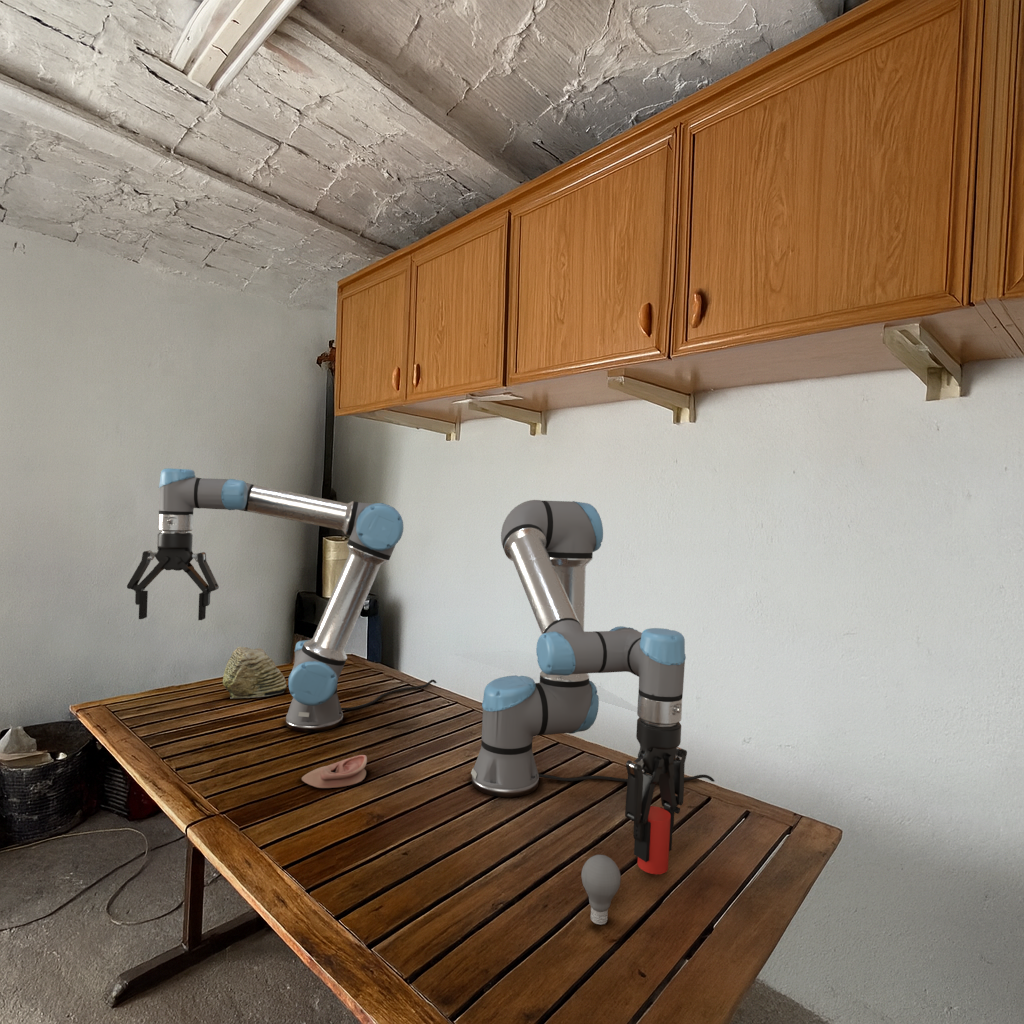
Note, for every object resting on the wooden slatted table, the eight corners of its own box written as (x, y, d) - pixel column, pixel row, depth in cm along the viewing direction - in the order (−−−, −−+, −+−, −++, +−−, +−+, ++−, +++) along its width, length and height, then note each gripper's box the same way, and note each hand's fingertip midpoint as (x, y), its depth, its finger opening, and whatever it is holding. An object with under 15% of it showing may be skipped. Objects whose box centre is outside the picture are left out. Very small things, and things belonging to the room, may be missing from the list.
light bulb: (576, 909, 100) (578, 846, 100) (613, 909, 101) (616, 846, 100) (583, 935, 94) (586, 869, 94) (622, 935, 95) (626, 868, 94)
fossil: (218, 695, 195) (220, 647, 195) (278, 685, 208) (279, 640, 207) (228, 703, 189) (230, 653, 188) (289, 692, 201) (290, 645, 201)
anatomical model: (294, 766, 138) (320, 747, 150) (294, 784, 138) (320, 763, 150) (351, 774, 136) (373, 754, 147) (350, 792, 136) (372, 770, 147)
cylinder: (673, 865, 110) (676, 813, 110) (658, 878, 107) (661, 824, 106) (646, 853, 114) (649, 803, 114) (631, 865, 110) (634, 812, 110)
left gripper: (112, 530, 149) (110, 620, 149) (224, 534, 152) (221, 622, 153) (127, 529, 156) (125, 614, 157) (233, 532, 160) (230, 616, 160)
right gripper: (640, 736, 101) (633, 880, 102) (709, 717, 112) (703, 846, 113) (606, 722, 107) (600, 858, 108) (675, 705, 118) (669, 828, 119)
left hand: (172, 618), depth 155 cm, fingers open, 13 cm apart
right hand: (652, 852), depth 110 cm, fingers closed on cylinder, 5 cm apart
